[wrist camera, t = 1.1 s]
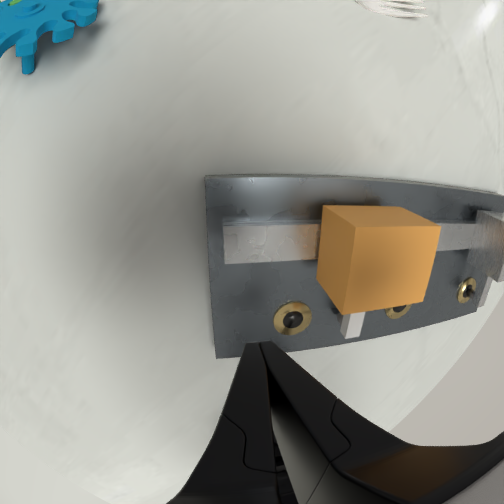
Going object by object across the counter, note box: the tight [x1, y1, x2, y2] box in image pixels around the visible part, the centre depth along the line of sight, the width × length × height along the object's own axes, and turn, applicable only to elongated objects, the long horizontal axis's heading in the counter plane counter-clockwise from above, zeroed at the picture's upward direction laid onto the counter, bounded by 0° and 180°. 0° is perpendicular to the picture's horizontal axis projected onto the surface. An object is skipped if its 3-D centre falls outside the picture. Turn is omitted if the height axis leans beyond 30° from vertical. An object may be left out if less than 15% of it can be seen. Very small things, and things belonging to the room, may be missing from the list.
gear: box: [0, 0, 99, 74], centre depth 10 cm, size 11×6×10 cm
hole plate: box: [205, 174, 504, 359], centre depth 20 cm, size 14×30×7 cm, turn 90°
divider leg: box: [316, 205, 441, 339], centre depth 18 cm, size 10×6×5 cm, turn 0°
